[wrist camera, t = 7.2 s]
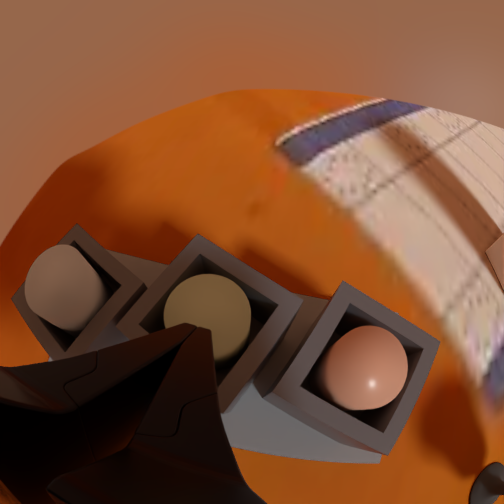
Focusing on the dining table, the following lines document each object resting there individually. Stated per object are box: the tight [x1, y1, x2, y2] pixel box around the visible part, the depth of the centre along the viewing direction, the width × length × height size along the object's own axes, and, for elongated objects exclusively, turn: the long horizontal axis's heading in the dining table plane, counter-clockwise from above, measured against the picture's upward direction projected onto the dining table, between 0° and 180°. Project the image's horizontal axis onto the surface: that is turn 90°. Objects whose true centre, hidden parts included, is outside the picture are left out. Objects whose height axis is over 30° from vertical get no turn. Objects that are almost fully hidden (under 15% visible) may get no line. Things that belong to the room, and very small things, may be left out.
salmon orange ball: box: [310, 326, 408, 411], centre depth 13 cm, size 4×4×4 cm
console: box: [11, 224, 440, 463], centre depth 16 cm, size 11×24×8 cm, turn 77°
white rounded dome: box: [25, 245, 114, 338], centre depth 13 cm, size 4×4×4 cm
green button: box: [164, 274, 251, 370], centre depth 14 cm, size 4×4×4 cm
